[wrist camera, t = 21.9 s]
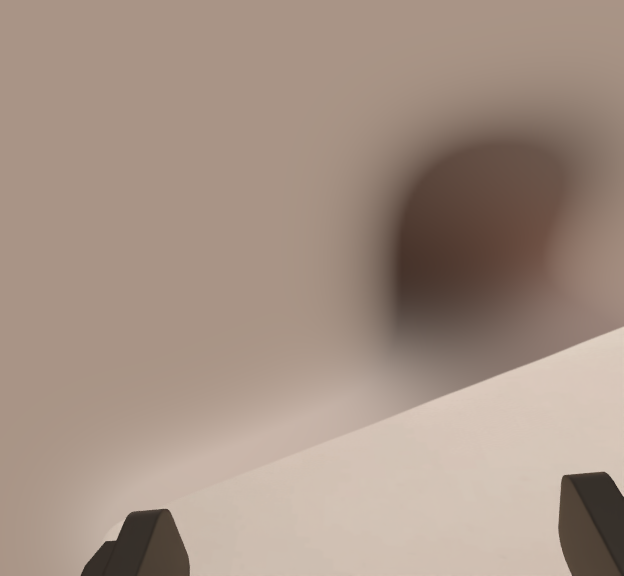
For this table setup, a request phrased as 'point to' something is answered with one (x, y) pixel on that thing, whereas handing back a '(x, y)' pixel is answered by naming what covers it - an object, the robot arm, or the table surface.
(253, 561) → the table surface
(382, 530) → the table surface
